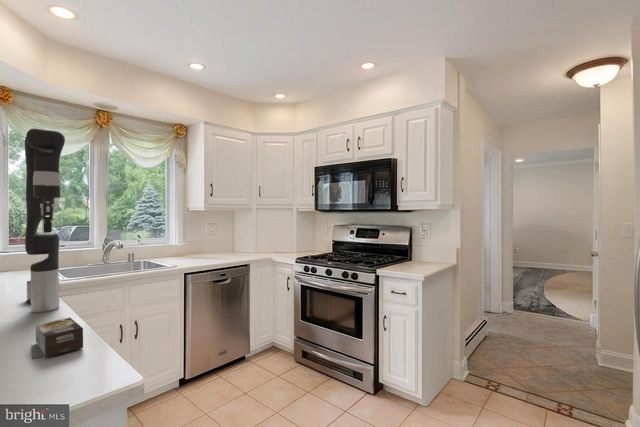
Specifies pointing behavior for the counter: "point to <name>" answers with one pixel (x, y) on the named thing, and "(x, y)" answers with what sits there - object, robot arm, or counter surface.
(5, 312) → the counter surface
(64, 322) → the coffee box
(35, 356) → the mat
